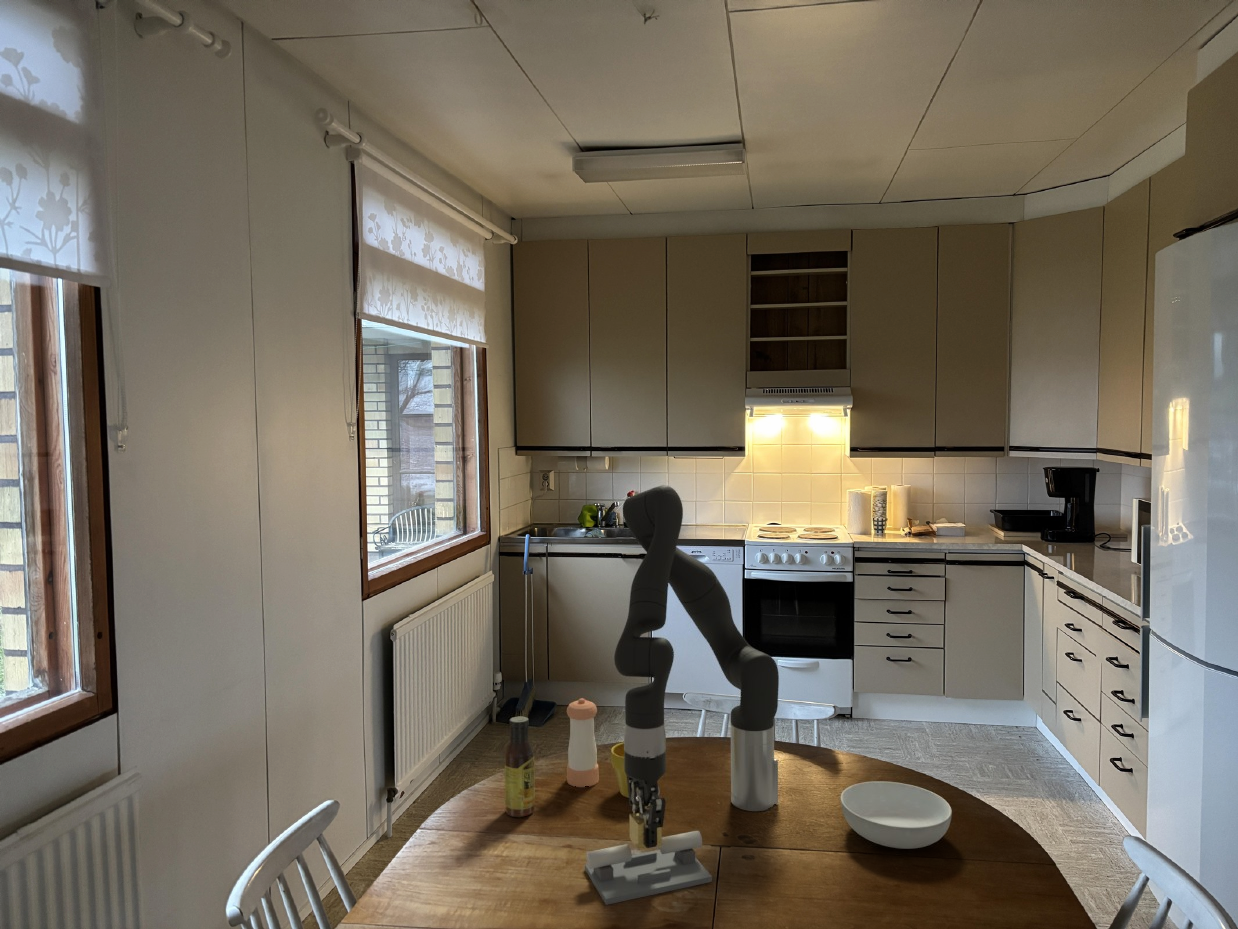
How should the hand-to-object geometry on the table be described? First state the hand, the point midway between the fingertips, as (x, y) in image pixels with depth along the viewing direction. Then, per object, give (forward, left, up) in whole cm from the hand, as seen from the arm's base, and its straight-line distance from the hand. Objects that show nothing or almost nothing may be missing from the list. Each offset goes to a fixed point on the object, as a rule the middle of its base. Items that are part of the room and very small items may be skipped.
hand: (645, 839), depth 148 cm
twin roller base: (0, 0, -7) cm, 7 cm away
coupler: (0, 0, 0) cm, 0 cm away
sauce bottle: (+16, -33, -7) cm, 37 cm away
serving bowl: (-51, +4, -7) cm, 52 cm away
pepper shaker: (-1, -43, -7) cm, 43 cm away
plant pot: (-10, -33, -7) cm, 35 cm away
